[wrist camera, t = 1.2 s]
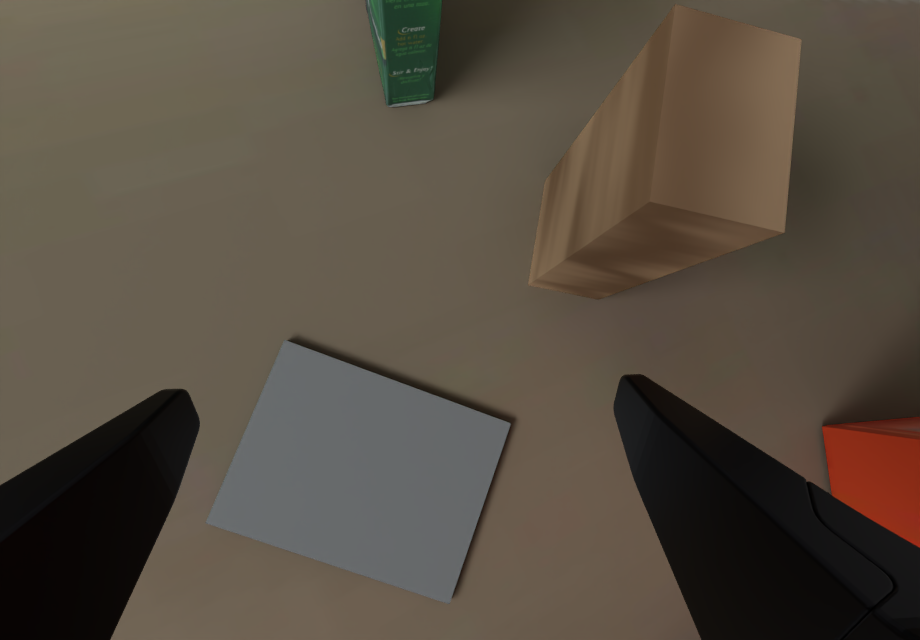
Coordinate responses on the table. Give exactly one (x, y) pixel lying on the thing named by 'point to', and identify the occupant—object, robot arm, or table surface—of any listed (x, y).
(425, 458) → the mat
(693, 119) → the tall wooden block tower
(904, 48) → the table surface
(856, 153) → the table surface
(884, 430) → the file binder
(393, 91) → the coffee box
